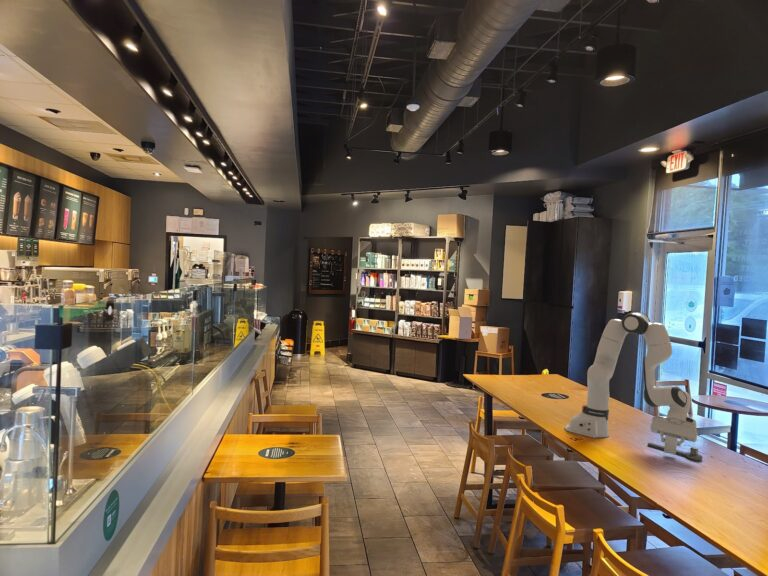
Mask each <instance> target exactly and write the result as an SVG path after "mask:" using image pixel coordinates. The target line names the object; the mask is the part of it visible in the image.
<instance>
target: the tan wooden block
mask: <svg viewBox="0 0 768 576" xmlns="http://www.w3.org/2000/svg"><path fill="white" fill-rule="evenodd" d="M664 436H665V437H664V438H665V442H664V443H663V446H664V451H663V453H664V454H671V455H675V456H677V454H676V450H677V448H678V446H677V441H678V439H679V438H677V436H676V435H671V434H666V435H664Z"/></svg>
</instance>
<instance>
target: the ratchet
mask: <svg viewBox="0 0 768 576" xmlns="http://www.w3.org/2000/svg"><path fill="white" fill-rule="evenodd" d="M647 447H650V448H654V449H657V450H660V451H663V452H664V445H661V444H657V443H653V442H648V443H647ZM689 451H690V452H687V451H682V450H679V449H676V456H680V455H681V457H684V458H685V459H688V460H691V461H694V462H703V455H701V454H700V453H699V447H696V446H691V447H690V450H689Z"/></svg>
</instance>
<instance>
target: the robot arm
mask: <svg viewBox="0 0 768 576" xmlns="http://www.w3.org/2000/svg"><path fill="white" fill-rule="evenodd" d="M628 334H631V335H639V336H643V337H644V340H645V344H646V350H647V352H646V355H645V356H644V358H643V361H642V362H643V363H642V364H643V365H642V366H643V367H642V368H643V369H642V371H643V387H644V388H643V399H644V402H645V403H646V405H648V406H649V407H652V408H659V407H669V409H668V411H667V414H666V416H661V415H654V416H653V417H652V419H651V423H650V431H651V433H654V434H655V433H656V434H659V436H660V442H661V443H665V437H664V436H665V435H666V434H671V435H676V436H677V438H678V439H679V440H677V447H681V445H682V444H683V443H684V442H686V441H687V442H690V443H691V442H692V443H696V442H697V441H698V428H697V421H696V419H694V418H691V417H690V416H688V414H689V412H690V409H691V405H692V404H691V403H692V402H691V400H692V399H691V398H692V397H691V395H690V394H689V393H688V392H687V391H685V390H683V389H681V388H680V387H678V386H677V385H666V386H656V377H655V376H656V375H655V370H656V368H657V367H658V366H660V365H661V364H663V363H665V362H666V361H668V360H669V359H670V358H671V356H672V355H673V348H672V347H673V346H672V343H671V338H670V335H669V333H668V330H667V328H666V326H665V325H664V324H663V323H662V322H651V320H650V317H649V316H648V315H646V313H643V312H640V311H639V312H638V311H636V312H635V311H634V312H629V313H627V314H625V315H624V316H623V318H622V319H619V318H612V319H610V320H609V321H608V322H607V324H606V325H605V328H604V329H603V332H602V334H601V337H600V340H599V343H598V346H597V348H596V354H595V357H594V361H593V364H592V365H590V367H588V369H587V372H586V375H587V377H586V378H587V382H586V383H587V398H586V404H582V406H581V412H579V413H577V414H575V415H574V416H572V417H571V419H570V421H569V423H567V424H566V425H565V428H564V430H565V431H567V432H570V433H572V434H573V433H574V434H578V435H580V436H581V435H582V436H585V437H590V438H592V439H593V438H594V439H596V438H608V437H610V434H609V433H610V432H609V422H608V421H609V417H610V409H609V405H610V380H611V379H612V378H613V375H614V373H615V369H616V366H617V362H618V360H619V359H618V358H619V355H620V353H621V350H622V346H623V344H624V342H625V338H626V336H627V335H628Z"/></svg>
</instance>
